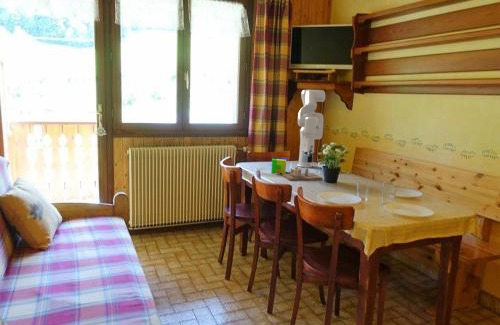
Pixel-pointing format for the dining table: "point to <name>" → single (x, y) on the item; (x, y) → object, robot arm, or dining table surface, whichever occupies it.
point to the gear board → (301, 175)
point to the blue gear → (306, 158)
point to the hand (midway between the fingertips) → (307, 160)
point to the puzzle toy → (278, 165)
